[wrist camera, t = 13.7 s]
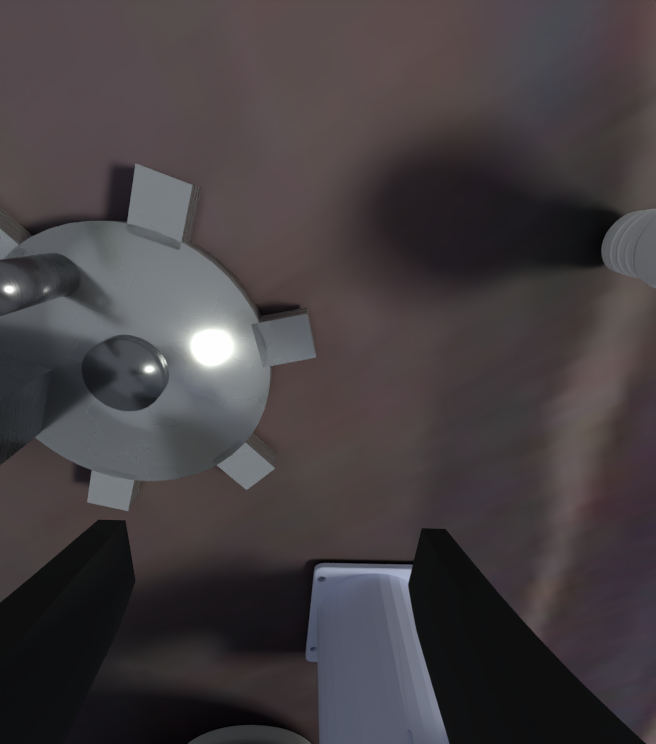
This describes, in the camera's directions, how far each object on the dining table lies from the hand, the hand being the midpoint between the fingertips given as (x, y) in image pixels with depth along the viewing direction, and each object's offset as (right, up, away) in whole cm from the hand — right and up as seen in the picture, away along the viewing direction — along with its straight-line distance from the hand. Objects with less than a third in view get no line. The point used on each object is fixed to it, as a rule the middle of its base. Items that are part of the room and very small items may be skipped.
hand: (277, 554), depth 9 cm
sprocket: (-7, +5, +8) cm, 12 cm away
